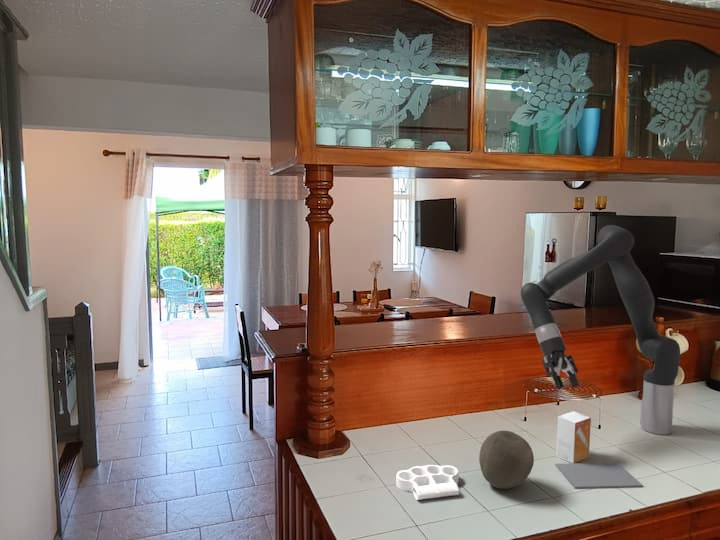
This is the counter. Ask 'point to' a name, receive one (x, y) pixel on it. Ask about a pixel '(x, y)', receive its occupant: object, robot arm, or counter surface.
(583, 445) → the small box
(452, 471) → the knuckle duster
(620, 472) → the mat
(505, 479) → the cantaloupe
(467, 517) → the counter surface
